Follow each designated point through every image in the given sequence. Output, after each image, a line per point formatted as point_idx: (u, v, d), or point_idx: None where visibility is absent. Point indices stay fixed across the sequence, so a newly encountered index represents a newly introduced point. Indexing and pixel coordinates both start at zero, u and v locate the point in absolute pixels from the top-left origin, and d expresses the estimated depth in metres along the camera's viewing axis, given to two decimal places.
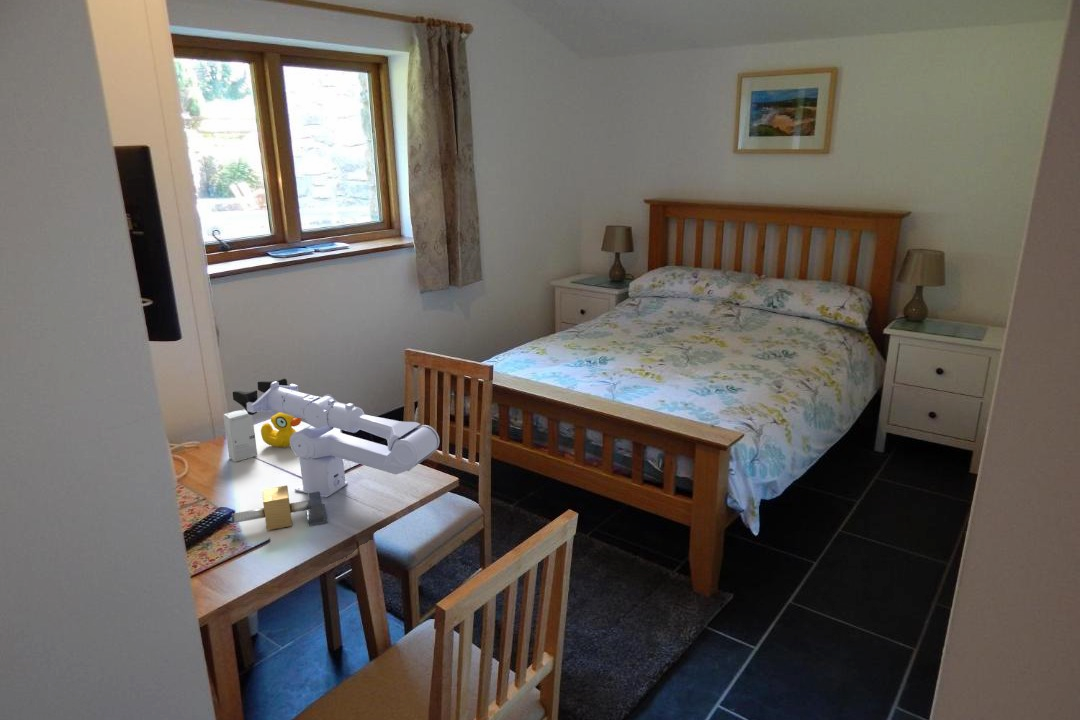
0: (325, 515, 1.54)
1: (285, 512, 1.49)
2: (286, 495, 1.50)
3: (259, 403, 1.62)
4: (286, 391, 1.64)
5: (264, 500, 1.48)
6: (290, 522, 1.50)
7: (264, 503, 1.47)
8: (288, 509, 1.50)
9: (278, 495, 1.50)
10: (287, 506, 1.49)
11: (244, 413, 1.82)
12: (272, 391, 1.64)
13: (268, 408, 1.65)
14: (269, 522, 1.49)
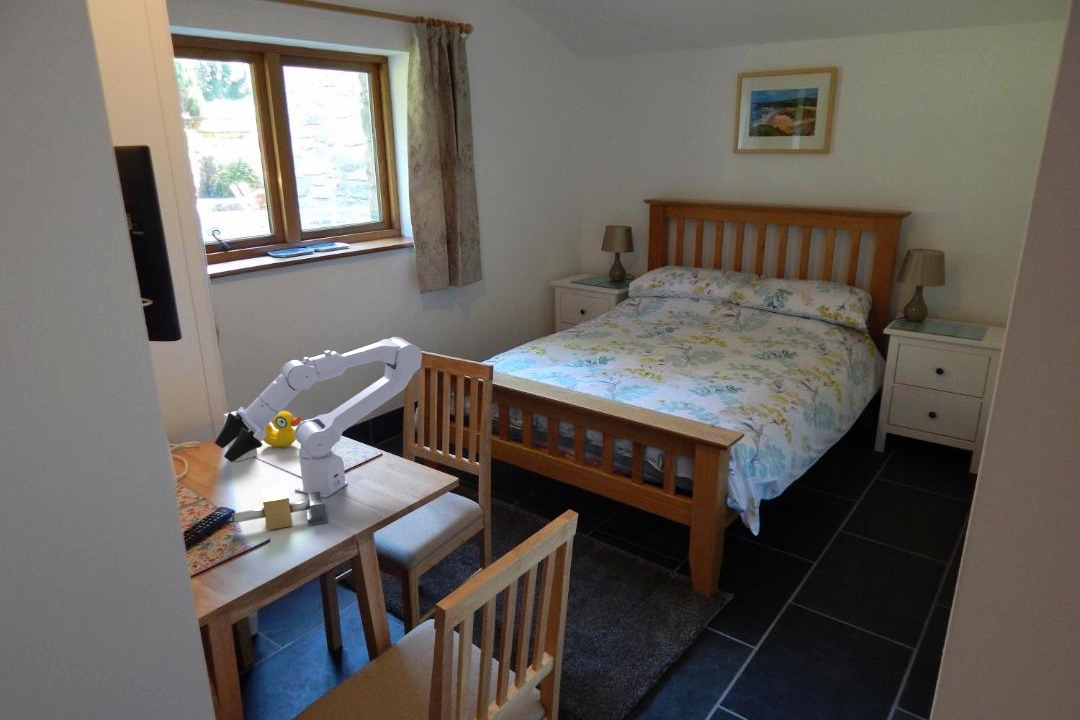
0: (325, 515, 1.54)
1: (285, 512, 1.49)
2: (286, 495, 1.50)
3: None
4: (257, 401, 1.55)
5: (264, 500, 1.48)
6: (290, 522, 1.50)
7: (264, 503, 1.47)
8: (288, 509, 1.50)
9: (278, 495, 1.50)
10: (287, 506, 1.49)
11: None
12: (249, 415, 1.54)
13: (262, 429, 1.55)
14: (269, 522, 1.49)
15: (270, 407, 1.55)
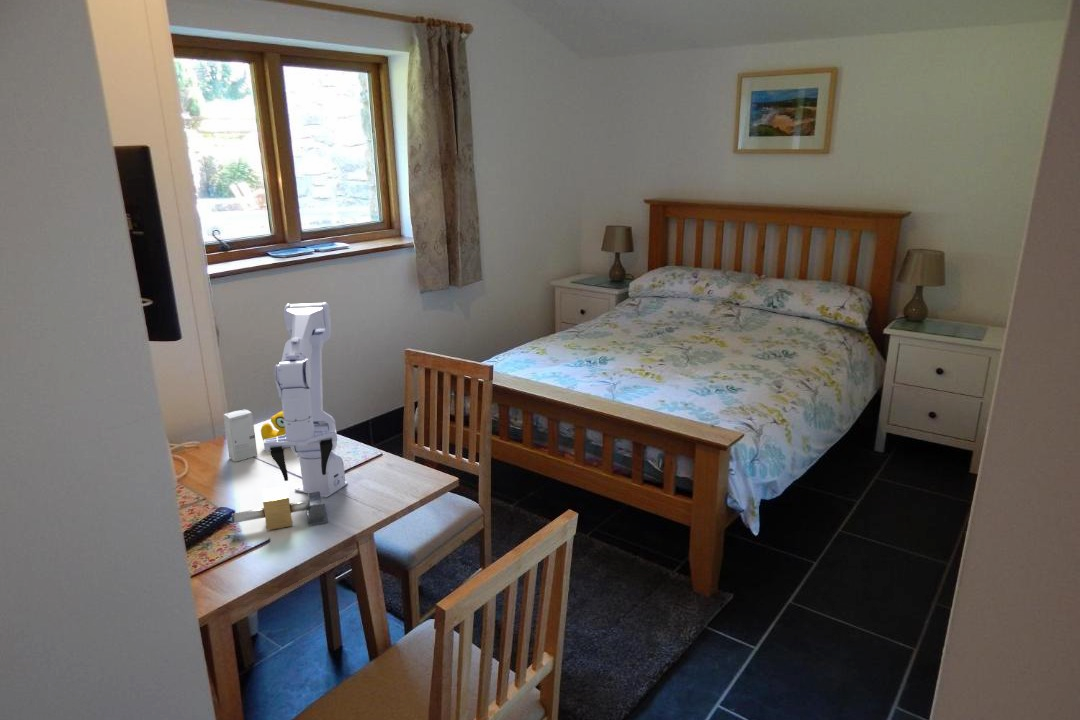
0: (325, 515, 1.54)
1: (285, 512, 1.49)
2: (286, 495, 1.50)
3: (325, 434, 1.51)
4: (301, 424, 1.46)
5: (264, 500, 1.48)
6: (290, 522, 1.50)
7: (264, 503, 1.47)
8: (288, 509, 1.50)
9: (278, 495, 1.50)
10: (287, 506, 1.49)
11: (244, 413, 1.82)
12: (308, 437, 1.48)
13: None
14: (269, 522, 1.49)
15: (312, 415, 1.48)
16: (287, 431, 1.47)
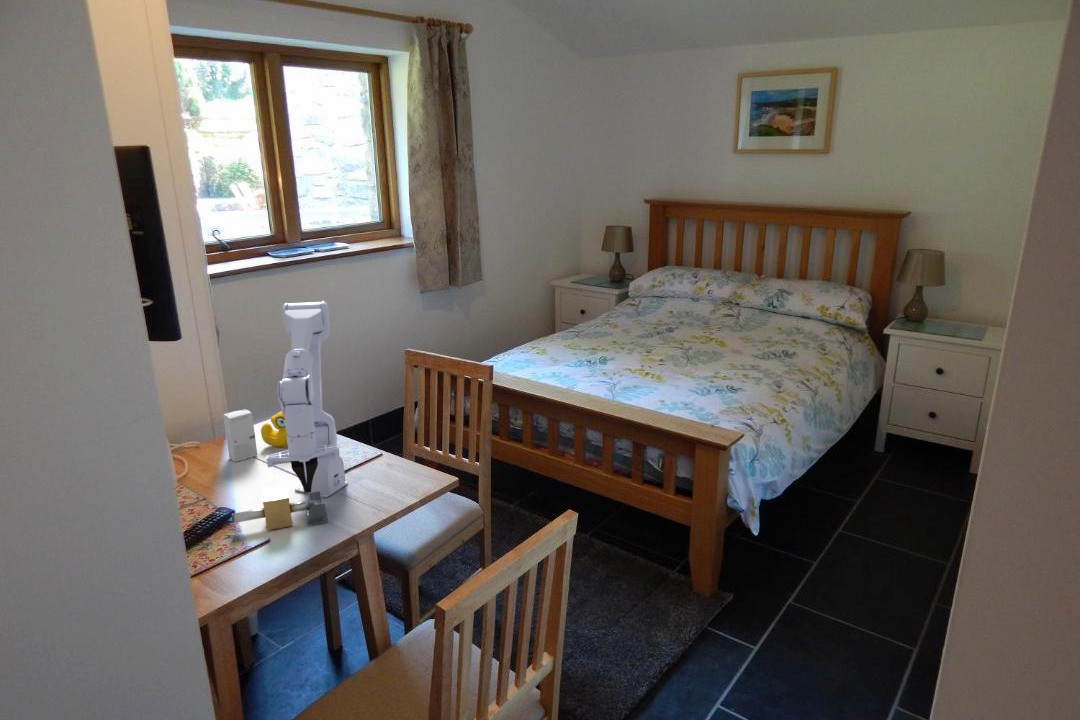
0: (325, 515, 1.54)
1: (285, 512, 1.49)
2: (286, 495, 1.50)
3: (327, 450, 1.52)
4: (304, 440, 1.47)
5: (264, 500, 1.48)
6: (290, 522, 1.50)
7: (264, 503, 1.47)
8: (288, 509, 1.50)
9: (278, 495, 1.50)
10: (287, 506, 1.49)
11: (244, 413, 1.82)
12: (311, 452, 1.49)
13: None
14: (269, 522, 1.49)
15: (314, 430, 1.49)
16: (290, 447, 1.48)
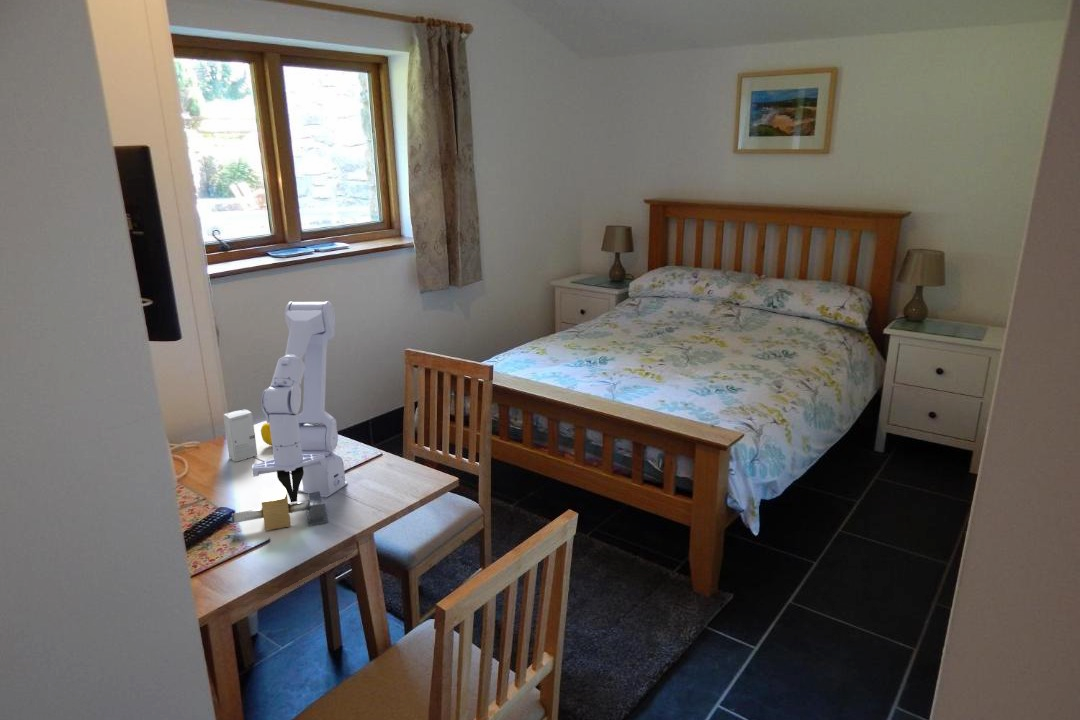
0: (325, 515, 1.54)
1: (283, 513, 1.49)
2: (284, 495, 1.50)
3: (313, 459, 1.51)
4: (290, 449, 1.46)
5: (262, 500, 1.48)
6: (288, 522, 1.50)
7: (262, 503, 1.47)
8: (286, 509, 1.49)
9: (277, 495, 1.50)
10: (285, 506, 1.49)
11: (244, 413, 1.82)
12: (296, 462, 1.48)
13: None
14: (267, 523, 1.49)
15: (300, 439, 1.49)
16: (275, 456, 1.47)
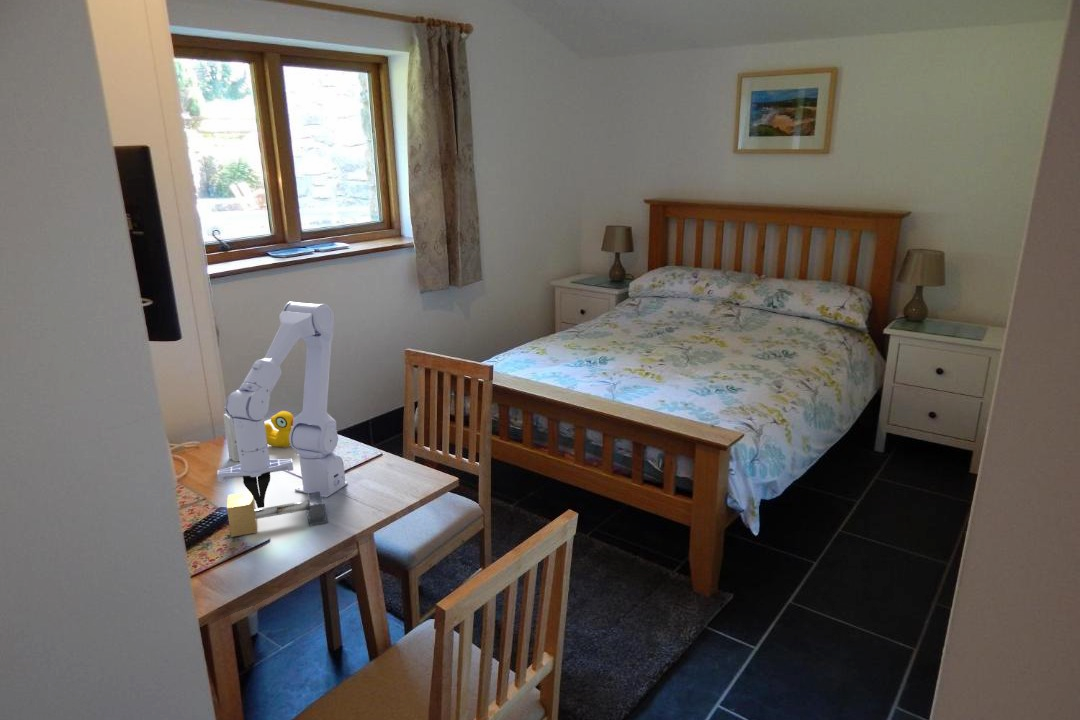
0: (325, 515, 1.54)
1: (249, 519, 1.47)
2: (251, 501, 1.47)
3: (280, 464, 1.49)
4: (255, 454, 1.44)
5: (228, 506, 1.45)
6: (255, 528, 1.48)
7: (228, 509, 1.45)
8: (253, 515, 1.47)
9: (243, 501, 1.48)
10: (252, 512, 1.47)
11: None
12: (263, 467, 1.46)
13: None
14: (233, 529, 1.46)
15: (266, 444, 1.47)
16: (241, 461, 1.45)
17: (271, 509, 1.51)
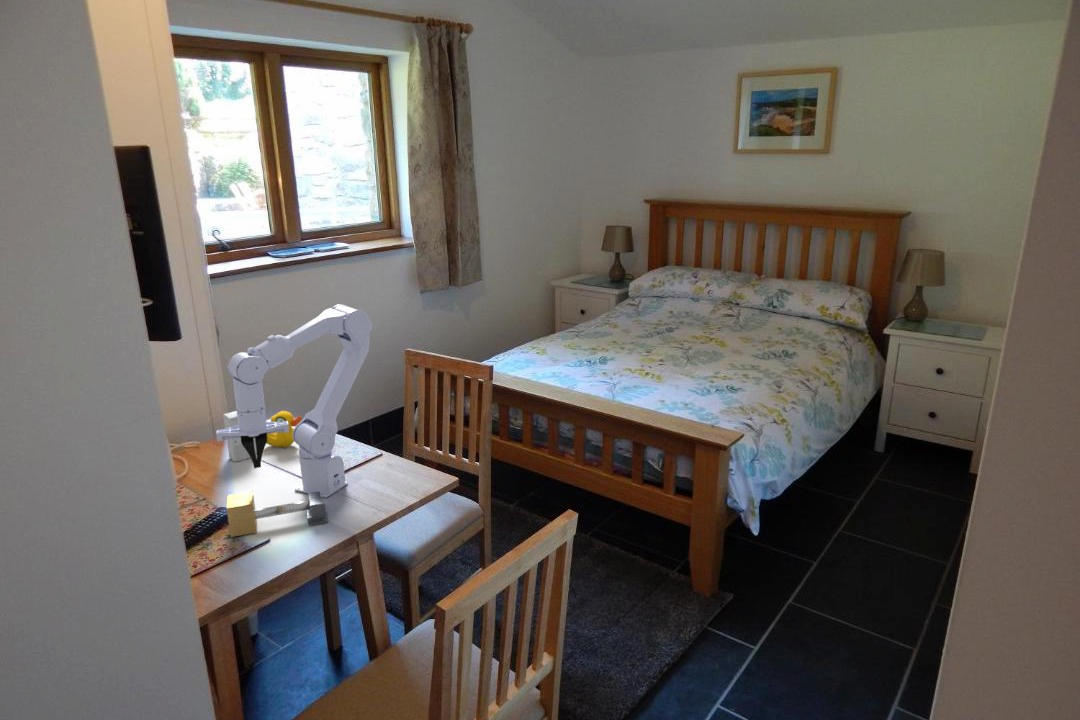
0: (325, 515, 1.54)
1: (249, 519, 1.47)
2: (250, 501, 1.47)
3: (277, 426, 1.56)
4: (254, 415, 1.51)
5: (228, 506, 1.45)
6: (255, 528, 1.48)
7: (228, 509, 1.45)
8: (252, 515, 1.47)
9: (243, 501, 1.48)
10: (251, 512, 1.47)
11: None
12: (260, 428, 1.53)
13: None
14: (233, 529, 1.46)
15: (264, 406, 1.54)
16: (239, 422, 1.52)
17: (271, 509, 1.51)
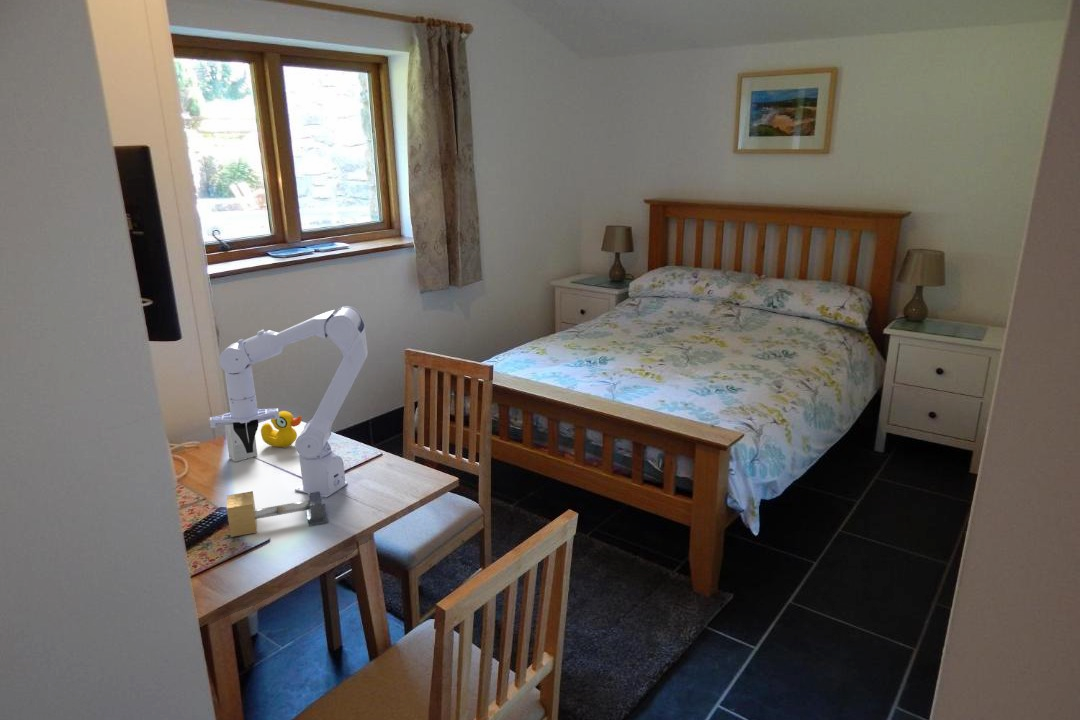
0: (325, 515, 1.54)
1: (249, 519, 1.47)
2: (250, 501, 1.47)
3: (267, 413, 1.63)
4: (244, 402, 1.59)
5: (228, 506, 1.45)
6: (255, 528, 1.48)
7: (228, 509, 1.45)
8: (252, 515, 1.47)
9: (243, 501, 1.48)
10: (251, 512, 1.47)
11: None
12: (251, 415, 1.60)
13: None
14: (233, 529, 1.46)
15: (254, 394, 1.61)
16: (231, 409, 1.59)
17: (271, 509, 1.51)
